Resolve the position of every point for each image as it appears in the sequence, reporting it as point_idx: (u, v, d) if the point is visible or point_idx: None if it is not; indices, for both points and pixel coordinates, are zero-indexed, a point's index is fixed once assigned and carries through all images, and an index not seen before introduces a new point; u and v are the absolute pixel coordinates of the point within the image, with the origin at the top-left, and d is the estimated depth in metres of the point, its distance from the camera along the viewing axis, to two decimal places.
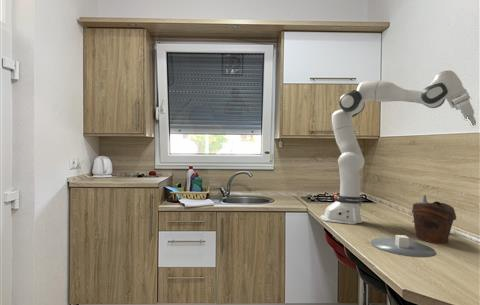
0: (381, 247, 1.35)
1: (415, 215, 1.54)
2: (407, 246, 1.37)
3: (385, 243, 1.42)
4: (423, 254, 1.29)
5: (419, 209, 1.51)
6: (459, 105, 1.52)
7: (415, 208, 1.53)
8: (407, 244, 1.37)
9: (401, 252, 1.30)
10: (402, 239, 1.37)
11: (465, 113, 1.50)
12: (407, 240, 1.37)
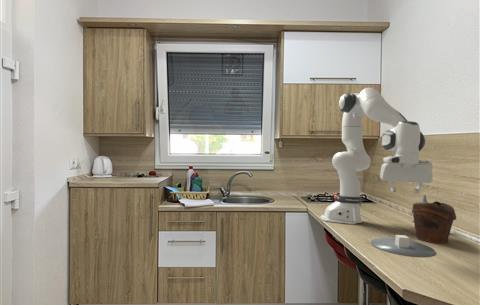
0: (381, 247, 1.35)
1: (415, 215, 1.54)
2: (407, 246, 1.37)
3: (385, 243, 1.42)
4: (423, 254, 1.29)
5: (419, 209, 1.51)
6: (382, 165, 1.41)
7: (415, 208, 1.53)
8: (407, 244, 1.37)
9: (401, 252, 1.30)
10: (402, 239, 1.37)
11: (380, 176, 1.41)
12: (407, 240, 1.37)
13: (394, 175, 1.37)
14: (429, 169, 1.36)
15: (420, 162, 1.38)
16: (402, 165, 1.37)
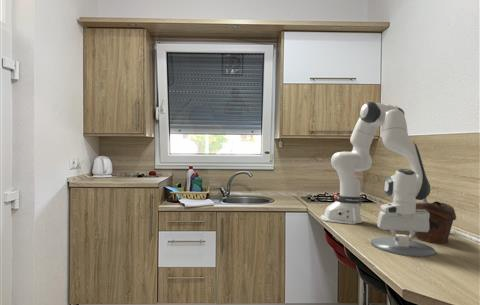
0: (381, 246, 1.35)
1: None
2: (407, 245, 1.37)
3: (385, 242, 1.42)
4: (423, 253, 1.29)
5: None
6: (379, 213, 1.41)
7: None
8: (407, 243, 1.37)
9: (401, 251, 1.30)
10: (402, 238, 1.37)
11: (377, 224, 1.41)
12: (407, 239, 1.37)
13: (391, 224, 1.38)
14: (426, 219, 1.37)
15: (417, 211, 1.38)
16: (399, 214, 1.37)
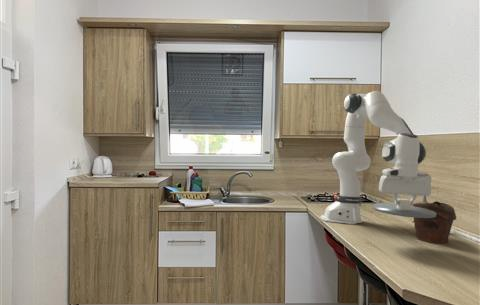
0: (382, 209, 1.35)
1: None
2: (408, 209, 1.37)
3: (386, 206, 1.42)
4: (424, 215, 1.29)
5: None
6: (381, 177, 1.41)
7: None
8: (408, 207, 1.37)
9: (402, 213, 1.30)
10: (404, 202, 1.37)
11: (379, 188, 1.41)
12: (409, 203, 1.37)
13: (393, 187, 1.38)
14: (428, 182, 1.36)
15: (419, 175, 1.38)
16: (401, 178, 1.37)
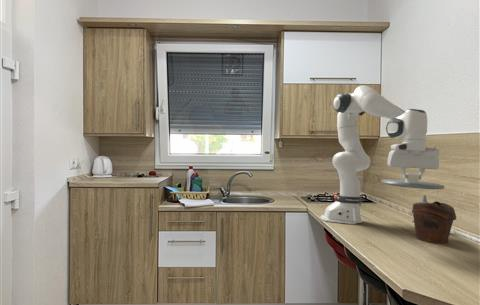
0: (391, 182, 1.39)
1: (415, 215, 1.54)
2: (417, 182, 1.40)
3: (395, 181, 1.45)
4: (433, 186, 1.32)
5: (419, 209, 1.51)
6: (389, 152, 1.44)
7: (415, 208, 1.53)
8: (417, 180, 1.40)
9: (411, 184, 1.33)
10: (412, 175, 1.40)
11: (387, 162, 1.44)
12: (417, 176, 1.40)
13: (401, 161, 1.41)
14: (436, 156, 1.39)
15: (427, 149, 1.41)
16: None
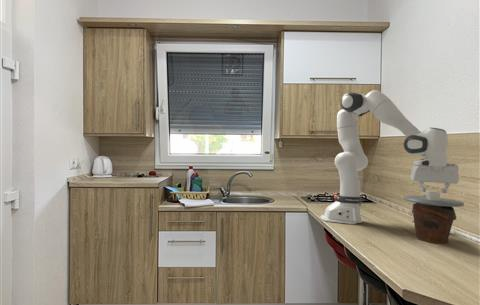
0: (415, 200, 1.51)
1: (415, 215, 1.54)
2: (438, 199, 1.52)
3: (417, 198, 1.57)
4: (454, 204, 1.44)
5: (419, 209, 1.51)
6: (412, 168, 1.57)
7: (415, 208, 1.53)
8: (438, 197, 1.52)
9: (434, 202, 1.45)
10: (434, 193, 1.52)
11: None
12: (438, 194, 1.52)
13: (424, 176, 1.53)
14: (456, 172, 1.52)
15: (447, 165, 1.53)
16: (431, 167, 1.52)
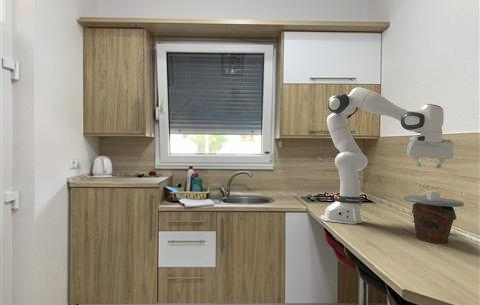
0: (415, 200, 1.51)
1: (415, 215, 1.54)
2: (438, 199, 1.52)
3: (417, 198, 1.57)
4: (454, 204, 1.44)
5: (419, 209, 1.51)
6: None
7: (415, 208, 1.53)
8: (438, 197, 1.52)
9: (434, 202, 1.45)
10: (434, 193, 1.52)
11: None
12: (438, 194, 1.52)
13: (420, 151, 1.57)
14: (451, 147, 1.56)
15: (443, 141, 1.57)
16: (427, 143, 1.56)
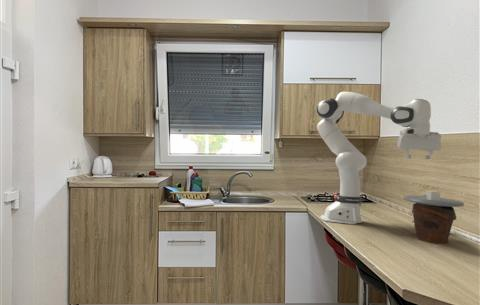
0: (415, 200, 1.51)
1: (415, 215, 1.54)
2: (438, 199, 1.52)
3: (417, 198, 1.57)
4: (454, 204, 1.44)
5: (419, 209, 1.51)
6: None
7: (415, 208, 1.53)
8: (438, 197, 1.52)
9: (434, 202, 1.45)
10: (434, 193, 1.52)
11: (397, 145, 1.69)
12: (438, 194, 1.52)
13: (409, 144, 1.66)
14: (438, 139, 1.65)
15: (431, 133, 1.66)
16: (416, 136, 1.65)
